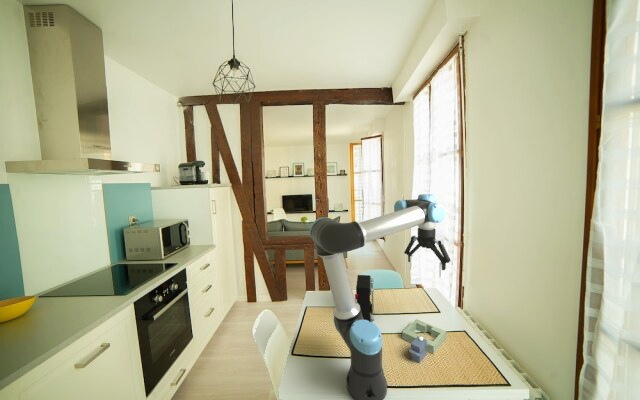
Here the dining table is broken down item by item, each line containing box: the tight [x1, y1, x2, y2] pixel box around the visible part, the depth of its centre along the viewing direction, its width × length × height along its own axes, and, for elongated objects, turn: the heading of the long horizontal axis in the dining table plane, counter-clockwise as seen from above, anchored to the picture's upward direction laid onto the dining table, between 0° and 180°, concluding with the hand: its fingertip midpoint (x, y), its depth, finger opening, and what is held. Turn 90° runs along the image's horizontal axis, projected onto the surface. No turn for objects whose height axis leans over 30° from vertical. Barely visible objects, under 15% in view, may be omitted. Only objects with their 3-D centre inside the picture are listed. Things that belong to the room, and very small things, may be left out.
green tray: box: [401, 318, 447, 355], centre depth 119 cm, size 15×15×4 cm
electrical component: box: [354, 274, 375, 322], centre depth 141 cm, size 18×10×20 cm, turn 168°
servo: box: [408, 336, 428, 364], centre depth 107 cm, size 10×4×8 cm, turn 133°
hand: (425, 272), depth 113 cm, fingers open, 13 cm apart
